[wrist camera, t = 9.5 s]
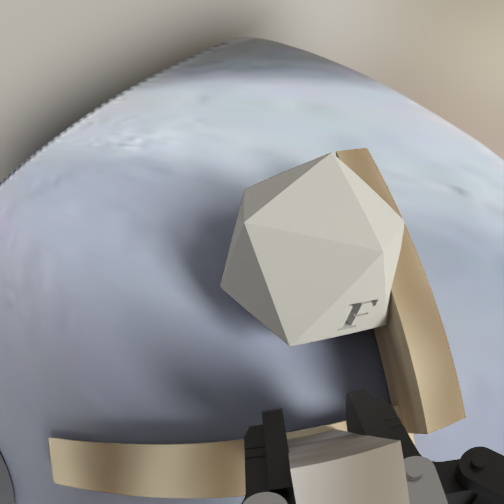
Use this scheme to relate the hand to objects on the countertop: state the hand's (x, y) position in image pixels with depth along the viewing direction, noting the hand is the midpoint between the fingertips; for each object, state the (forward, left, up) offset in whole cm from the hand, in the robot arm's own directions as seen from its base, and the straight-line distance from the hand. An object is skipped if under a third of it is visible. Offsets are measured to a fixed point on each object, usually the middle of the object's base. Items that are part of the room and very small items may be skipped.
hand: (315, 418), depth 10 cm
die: (+2, +7, -5) cm, 9 cm away
